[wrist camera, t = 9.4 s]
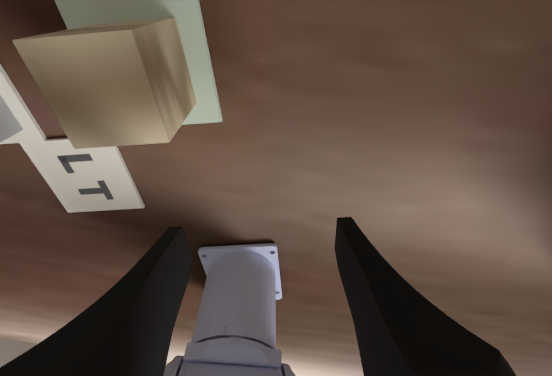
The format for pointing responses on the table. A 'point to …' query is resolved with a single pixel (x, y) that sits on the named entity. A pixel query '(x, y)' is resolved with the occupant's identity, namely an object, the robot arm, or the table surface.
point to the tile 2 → (85, 176)
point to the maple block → (113, 81)
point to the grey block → (7, 122)
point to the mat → (186, 9)
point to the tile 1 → (19, 113)
